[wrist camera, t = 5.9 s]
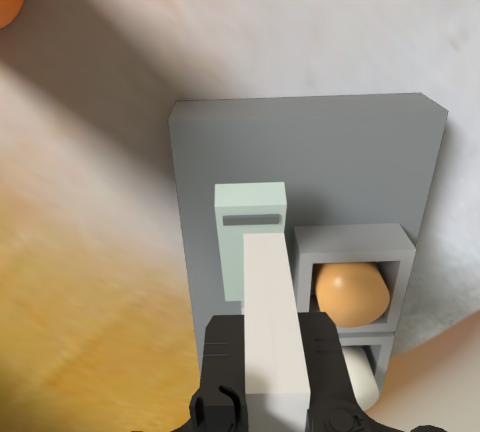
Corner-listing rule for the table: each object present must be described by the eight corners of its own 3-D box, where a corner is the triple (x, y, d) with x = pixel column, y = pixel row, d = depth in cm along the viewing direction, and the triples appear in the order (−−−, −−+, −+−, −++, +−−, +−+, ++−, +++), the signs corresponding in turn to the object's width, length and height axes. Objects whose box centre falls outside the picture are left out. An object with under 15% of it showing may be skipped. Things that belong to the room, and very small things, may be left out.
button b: (309, 297, 29) (317, 328, 26) (313, 247, 27) (322, 277, 24) (370, 295, 29) (383, 326, 26) (379, 245, 27) (395, 275, 24)
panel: (203, 342, 38) (197, 410, 32) (176, 101, 26) (159, 139, 20) (371, 337, 38) (396, 404, 32) (420, 92, 26) (475, 128, 20)
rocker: (225, 281, 28) (225, 303, 27) (215, 184, 20) (214, 209, 19) (275, 280, 28) (277, 301, 27) (284, 182, 20) (287, 207, 19)
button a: (307, 380, 32) (313, 416, 29) (310, 342, 29) (317, 378, 27) (362, 379, 32) (374, 414, 29) (370, 340, 29) (383, 376, 27)
